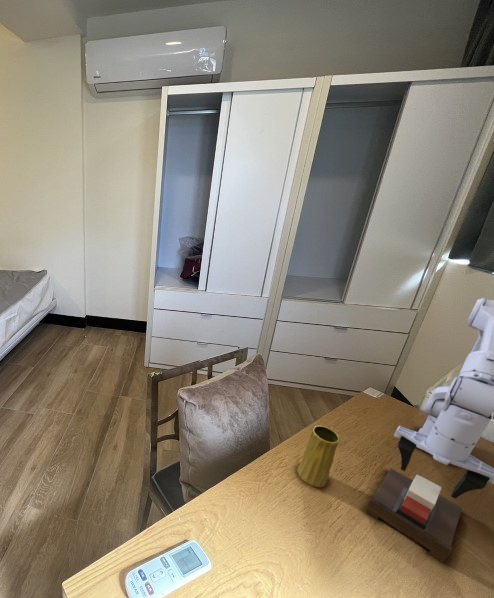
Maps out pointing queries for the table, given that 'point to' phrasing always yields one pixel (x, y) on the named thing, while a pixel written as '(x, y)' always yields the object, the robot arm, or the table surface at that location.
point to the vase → (318, 456)
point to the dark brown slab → (431, 537)
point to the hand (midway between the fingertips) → (427, 480)
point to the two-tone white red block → (419, 501)
